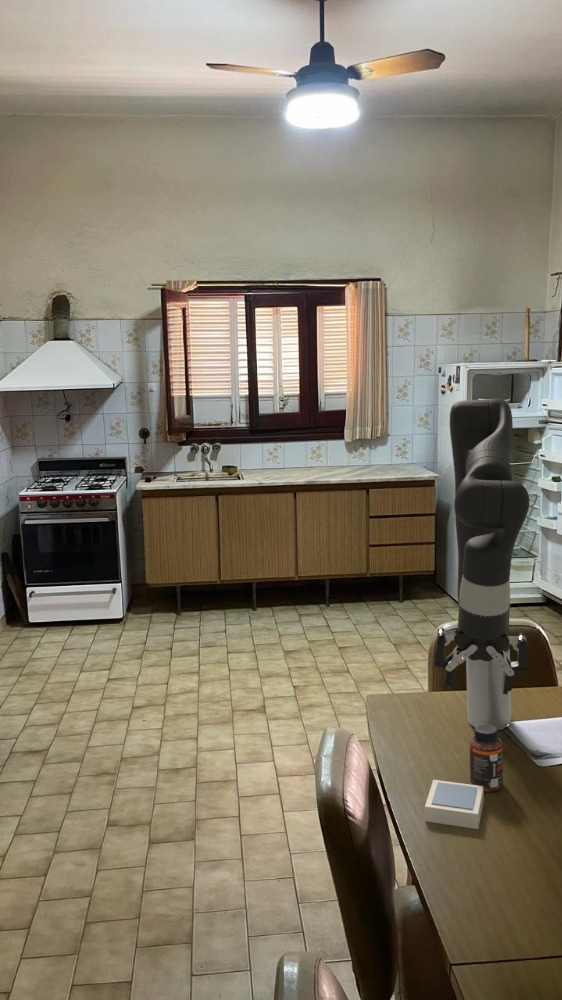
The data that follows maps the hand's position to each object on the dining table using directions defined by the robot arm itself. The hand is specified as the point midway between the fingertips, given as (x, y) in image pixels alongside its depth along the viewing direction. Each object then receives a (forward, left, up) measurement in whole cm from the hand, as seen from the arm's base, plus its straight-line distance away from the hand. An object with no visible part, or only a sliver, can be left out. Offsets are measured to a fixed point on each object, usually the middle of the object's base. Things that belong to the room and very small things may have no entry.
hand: (477, 689), depth 123 cm
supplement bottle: (-15, 0, -26) cm, 30 cm away
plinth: (-5, -5, -26) cm, 27 cm away
